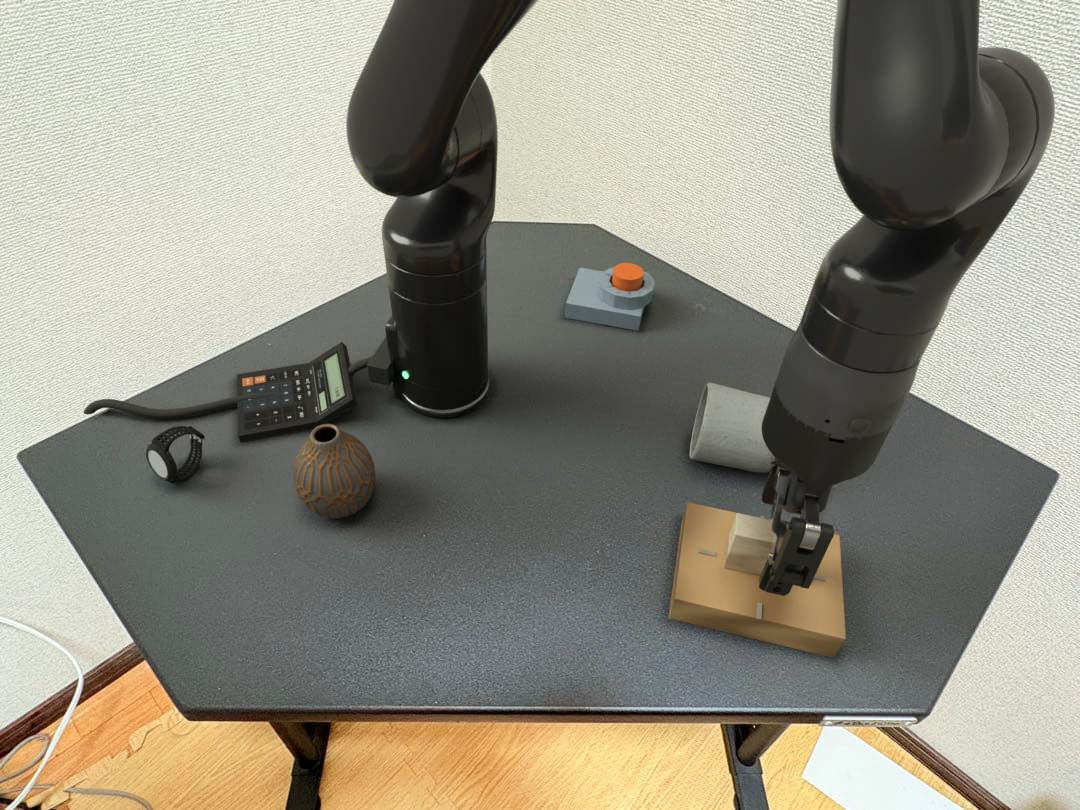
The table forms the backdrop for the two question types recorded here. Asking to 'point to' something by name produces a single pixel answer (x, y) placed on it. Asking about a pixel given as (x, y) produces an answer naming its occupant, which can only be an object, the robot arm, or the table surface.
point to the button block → (607, 300)
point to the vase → (333, 473)
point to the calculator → (296, 396)
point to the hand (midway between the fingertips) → (773, 543)
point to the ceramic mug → (730, 429)
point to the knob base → (753, 591)
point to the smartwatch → (164, 460)
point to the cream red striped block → (748, 544)
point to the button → (627, 277)
